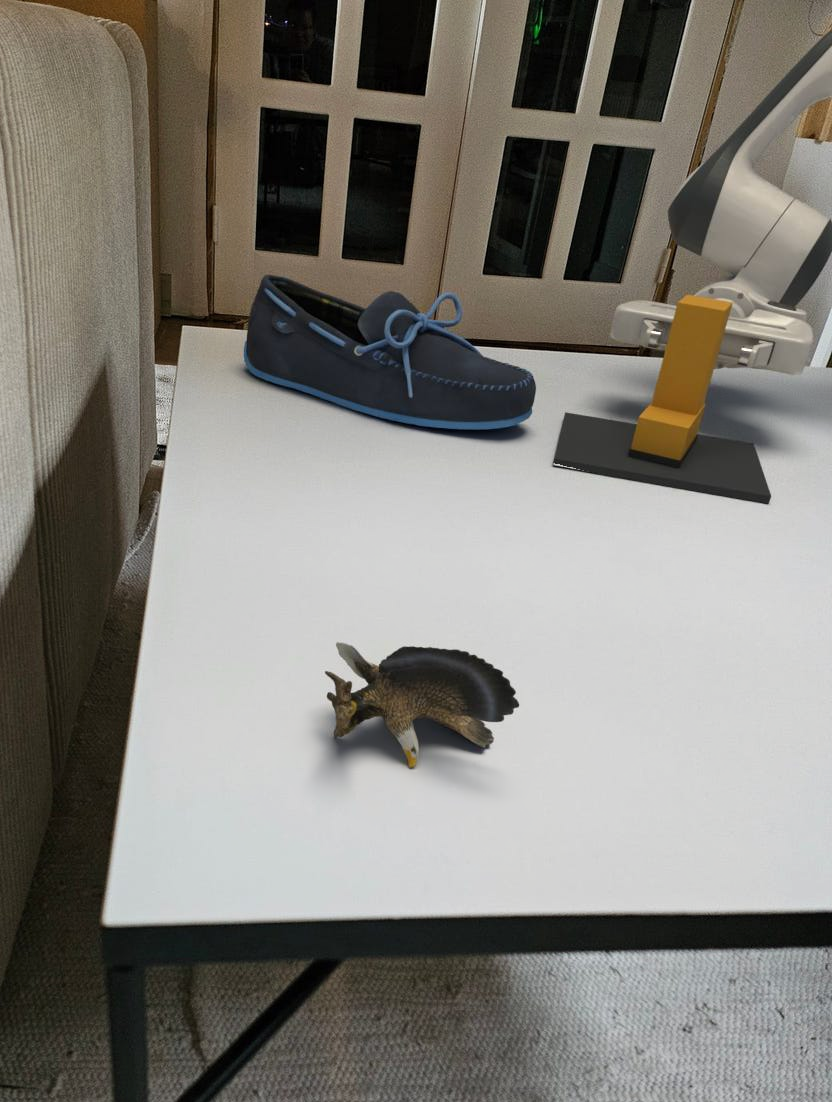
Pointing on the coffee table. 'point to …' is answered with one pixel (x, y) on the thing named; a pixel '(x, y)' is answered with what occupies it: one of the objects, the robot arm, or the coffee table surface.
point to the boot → (682, 382)
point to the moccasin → (381, 359)
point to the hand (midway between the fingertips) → (698, 349)
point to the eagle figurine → (423, 694)
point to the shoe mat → (702, 470)
